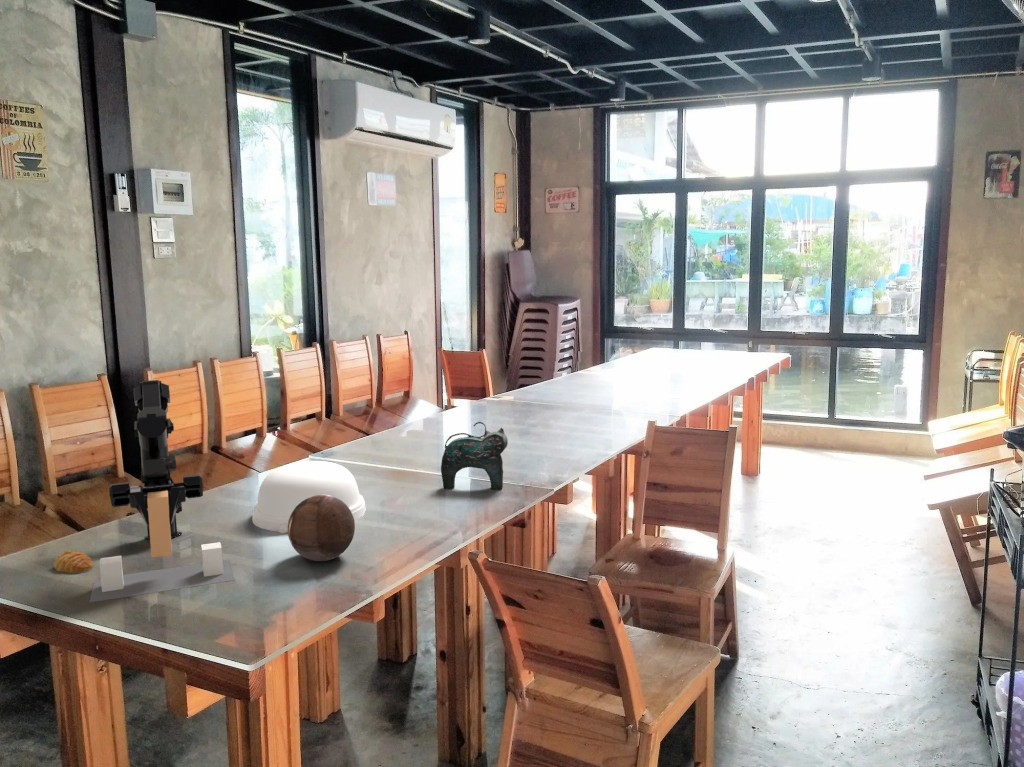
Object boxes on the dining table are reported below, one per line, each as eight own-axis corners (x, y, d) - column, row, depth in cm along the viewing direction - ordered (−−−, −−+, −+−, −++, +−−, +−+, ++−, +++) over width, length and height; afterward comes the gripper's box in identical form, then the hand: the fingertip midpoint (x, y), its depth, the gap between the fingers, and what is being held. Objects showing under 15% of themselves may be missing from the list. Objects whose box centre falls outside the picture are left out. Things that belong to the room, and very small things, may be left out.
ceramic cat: (508, 485, 257) (507, 420, 254) (506, 491, 251) (505, 424, 248) (443, 485, 259) (441, 420, 256) (439, 490, 253) (437, 424, 250)
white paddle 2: (203, 570, 189) (201, 544, 188) (222, 567, 191) (220, 542, 190) (204, 576, 186) (202, 550, 185) (223, 573, 187) (221, 547, 186)
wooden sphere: (360, 547, 204) (357, 486, 202) (351, 569, 189) (347, 504, 187) (297, 549, 204) (293, 488, 202) (282, 572, 189) (278, 506, 187)
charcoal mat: (94, 581, 186) (94, 579, 186) (229, 561, 196) (229, 559, 196) (90, 604, 173) (89, 602, 173) (234, 582, 183) (234, 580, 183)
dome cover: (335, 537, 213) (332, 482, 211) (228, 531, 220) (224, 477, 218) (383, 501, 244) (381, 453, 242) (288, 496, 251) (285, 450, 249)
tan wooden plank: (151, 550, 187) (147, 492, 185) (171, 547, 188) (167, 490, 186) (151, 557, 182) (147, 498, 180) (171, 555, 184) (167, 496, 182)
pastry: (102, 569, 194) (100, 553, 193) (73, 579, 188) (71, 562, 187) (78, 562, 199) (77, 546, 198) (50, 571, 193) (48, 555, 192)
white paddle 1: (103, 585, 182) (100, 558, 181) (123, 582, 183) (121, 555, 182) (102, 591, 178) (99, 564, 177) (123, 588, 180) (120, 561, 179)
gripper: (105, 447, 182) (107, 512, 173) (199, 439, 189) (205, 500, 180) (110, 475, 190) (113, 537, 182) (199, 465, 197) (205, 525, 189)
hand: (159, 524), depth 183 cm, fingers closed on tan wooden plank, 4 cm apart
